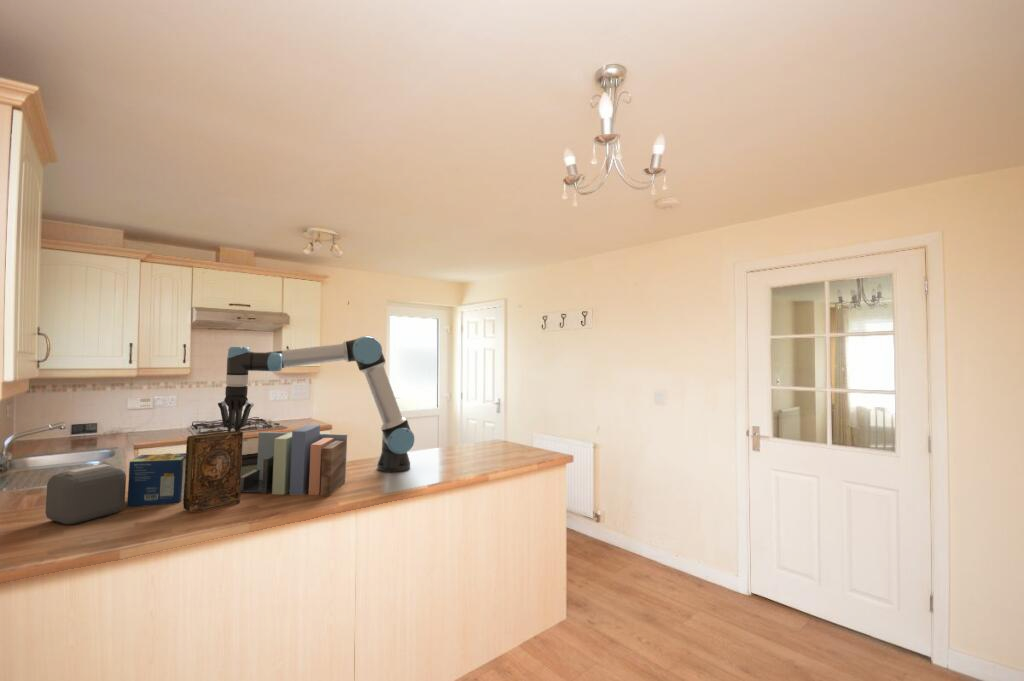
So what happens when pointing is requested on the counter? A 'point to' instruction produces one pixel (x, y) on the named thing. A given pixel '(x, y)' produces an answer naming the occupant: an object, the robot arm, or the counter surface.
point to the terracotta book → (317, 465)
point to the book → (212, 471)
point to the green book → (282, 464)
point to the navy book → (302, 457)
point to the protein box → (156, 479)
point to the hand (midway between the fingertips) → (233, 445)
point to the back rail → (268, 447)
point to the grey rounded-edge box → (85, 494)
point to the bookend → (252, 481)
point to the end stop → (332, 467)
